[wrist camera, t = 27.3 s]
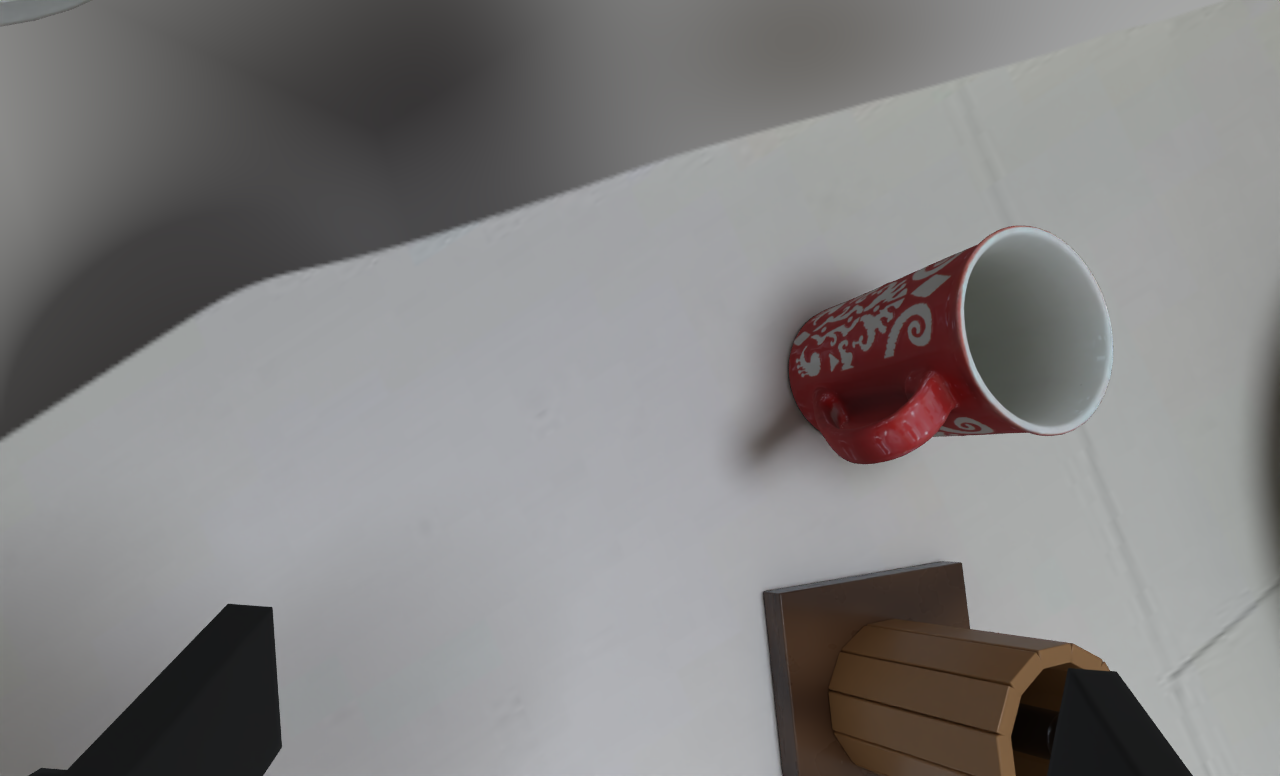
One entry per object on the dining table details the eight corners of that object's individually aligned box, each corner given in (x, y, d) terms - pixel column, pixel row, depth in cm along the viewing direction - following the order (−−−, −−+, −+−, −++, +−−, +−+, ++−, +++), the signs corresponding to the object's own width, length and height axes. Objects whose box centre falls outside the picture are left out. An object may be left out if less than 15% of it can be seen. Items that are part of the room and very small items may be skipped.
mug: (854, 262, 54) (1050, 188, 42) (932, 398, 55) (1145, 364, 43) (693, 381, 48) (865, 335, 36) (784, 528, 49) (979, 532, 37)
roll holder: (762, 591, 48) (970, 617, 36) (942, 561, 54) (1179, 574, 41) (788, 836, 47) (1012, 953, 35) (970, 781, 53) (1221, 864, 40)
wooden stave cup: (820, 633, 48) (987, 662, 38) (936, 610, 51) (1117, 631, 41) (838, 789, 47) (1012, 860, 37) (954, 755, 51) (1142, 813, 41)
